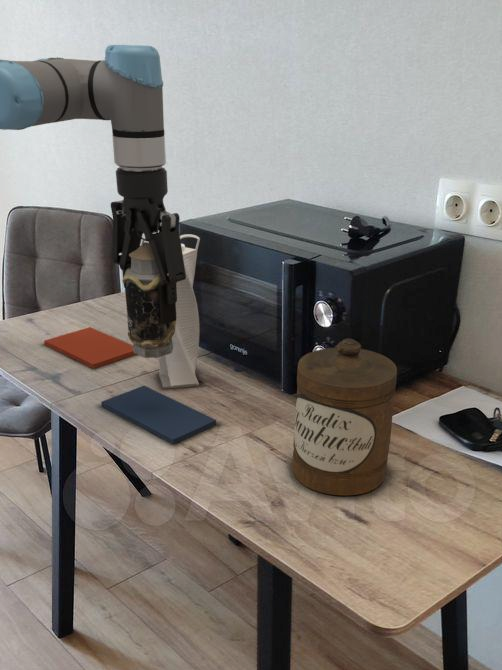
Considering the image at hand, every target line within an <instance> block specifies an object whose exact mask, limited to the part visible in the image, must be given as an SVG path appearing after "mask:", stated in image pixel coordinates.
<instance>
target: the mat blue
mask: <svg viewBox="0 0 502 670" xmlns="http://www.w3.org/2000/svg"><path fill="white" fill-rule="evenodd" d="M100 404H101V407H102V408H104V409H106V410H108V411H109V412H111V413H113V414H115V415H117V416H119V417H120V418H122V419H124V420H127V421H128V422H130V423H132V424H134V425H136V426H138V427H139V428H141V429H143V430H145V431H147V432H149V433H151V434H152V435H154V436H156V437H158V438H159V439H162V440H164V441H165V442H168V443H170V444H171V445H176V444H178V443H180V442H182V441H184V440H187V439H189V438H191V437H193V436H195V435H197V434H199V433H202V432H204V431H206V430H208V429H210V428H212V427H215V426H217V419H215V418H213V417H211V416H210V415H209V416H208V415H207V414H204V412H203V413H202V412H200V411H198V410H197V409H194V408H192V407H190V406H188V405H186V404H183V403H181V402H180V401H177V400H175V399H174V398H171V397H169V396H167V395H165V394H163V393H161V392H159V391H157V390H154V389H153V388H150V387H149V386H146V385H141V386H139V387H136V388H134V389H131V390H129V391H126V392H123V393H120V394H118V395H116V396H112V397H110V398H107V399H105V400H101V402H100Z"/></svg>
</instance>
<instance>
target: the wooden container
mask: <svg viewBox="0 0 502 670" xmlns="http://www.w3.org/2000/svg"><path fill="white" fill-rule="evenodd" d="M397 369H398V368H397V366H396V364H395V363H394V362H393V361H392V360H391V359H390V358H388V357H387V356H385V355H383V354H380V353H378V352H375V351H372V350H368V349H364V348H362V345H361V343H360V342H359V341H356V340H355V339H354V338H345V339H343V340H341V341H339V342H338V344H336V347H327V348H322V349H318V350H313V351H311V352H308V353H306V354H305V355H303V356H302V357H301V358H300V359H299V360H298V363H297V371H296V386H297V387H296V389H297V390H296V401H295V416H294V429H293V430H294V431H293V444H292V445H293V446H292V447H293V450H292V472H293V474H294V477H295V478H296V479H297V480H298V481H299V482H300V483H301V484H302V485H303V486H305V487H307V488H309V489H311V490H314V491H316V492H319V493H322V494H327V495H331V496H356V495H362V494H366V493H369V492H371V491H373V490H375V489H377V488H378V487H379V486H381V484H382V483H383V482H384V481H385V478H386V473H387V468H388V466H387V465H388V457H389V452H390V443H391V436H392V426H393V414H394V404H395V395H396V394H395V393H396V387H397V378H398V377H397V376H398V370H397Z"/></svg>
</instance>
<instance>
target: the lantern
mask: <svg viewBox="0 0 502 670" xmlns="http://www.w3.org/2000/svg"><path fill="white" fill-rule="evenodd" d="M136 233H137V235H138V236H139V237H140V238H141V244H140V247H139V248H138V249H136V250H135V251H133V252H132V253H130V254H129V256H130V257H131V267H130V268H128V269H127V270H126V272H125V275H124V278H123V277H122V280H121V281H122V283H126V295H125V303H126V302H127V306H126V313H127V314H126V317H127V331H128V332H127V337H128V339H129V340H130V342H131V343H132V346H133V353H135V355H137V356H140V357H142V358H145V359H153V358H154V359H158V358H159V357H162V356H165V355H168V354H171V353H172V350H173V342H172V336H173V335H174V332H175V325H176V321H173V322H170V323H167V324H161V320H160V304H159V288H158V282H161V281H162V280H161V277H160V274H159V271H158V267H157V264H156V261H155V258H154V255H153V252H152V249H151V245H150V242H149V241H147V240H146V238H145V237H143V236H142V237H141V236H140V235H139V233H138V232H136ZM156 233H159V219H158V221H157V231H156ZM167 276H168V274H167ZM126 280H127V281H126Z"/></svg>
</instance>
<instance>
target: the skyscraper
mask: <svg viewBox="0 0 502 670" xmlns="http://www.w3.org/2000/svg"><path fill="white" fill-rule="evenodd" d="M184 238H194V239H196V244H195V248H192V247H187V246H186V245H185V244H184V243H181V247H182V254H183V260H184V267H185V273H186V279H185V280H182V281H178V282H177V284H176V287H177V302H176V325H175V332H174V335H173V336H172V342H173V350H172V353H171V354H168V355H165V356H162V357H159V358H157V360H158V363H159V367H158V368H159V369H158V370H159V371H158V377H159V380H160V384H161V386H162V390H168V389H179V388H189V387H190V388H191V387H199V386H200V383H199V381H198V378H197V376H196V369H197V362H198V356H199V348H200V347H199V346H200V315H199V308H198V302H197V298H196V295H195V294H196V293H195V291H194V288H193V287H194V282H195V281H194V280H195V274H196V265H197V258H198V249H199V245H200V241H201V237H200V236H199V235H195V234H192V233H186V234H181V235H180V240H181V239H184Z"/></svg>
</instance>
